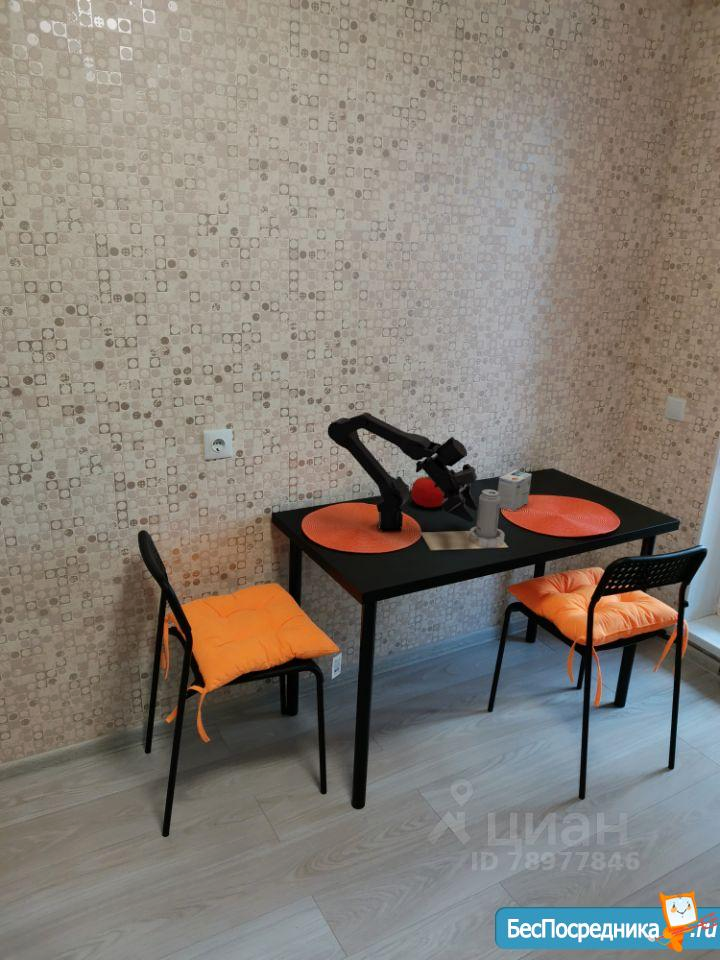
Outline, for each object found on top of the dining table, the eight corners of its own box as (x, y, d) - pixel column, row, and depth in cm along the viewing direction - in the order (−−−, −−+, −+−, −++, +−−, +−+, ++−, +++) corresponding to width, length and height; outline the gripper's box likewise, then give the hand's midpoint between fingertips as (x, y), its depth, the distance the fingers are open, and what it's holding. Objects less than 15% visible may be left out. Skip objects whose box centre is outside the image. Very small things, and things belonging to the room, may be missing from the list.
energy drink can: (475, 535, 218) (480, 487, 213) (495, 537, 217) (501, 489, 212) (474, 543, 212) (479, 495, 207) (495, 545, 212) (501, 497, 206)
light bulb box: (510, 498, 251) (514, 468, 247) (528, 503, 247) (532, 473, 243) (495, 507, 243) (498, 476, 240) (513, 512, 239) (517, 481, 236)
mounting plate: (430, 553, 207) (430, 550, 207) (420, 536, 219) (420, 532, 218) (508, 550, 211) (508, 547, 211) (494, 533, 222) (494, 530, 222)
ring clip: (475, 548, 209) (476, 540, 209) (465, 534, 218) (465, 526, 218) (508, 547, 211) (509, 539, 210) (496, 533, 220) (497, 525, 219)
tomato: (452, 511, 238) (454, 482, 234) (413, 512, 236) (415, 482, 233) (443, 498, 248) (446, 470, 245) (407, 499, 247) (409, 470, 243)
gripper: (457, 468, 200) (493, 511, 201) (466, 449, 217) (499, 489, 218) (426, 491, 205) (461, 533, 206) (437, 470, 222) (470, 509, 223)
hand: (474, 515), depth 213 cm, fingers open, 9 cm apart
